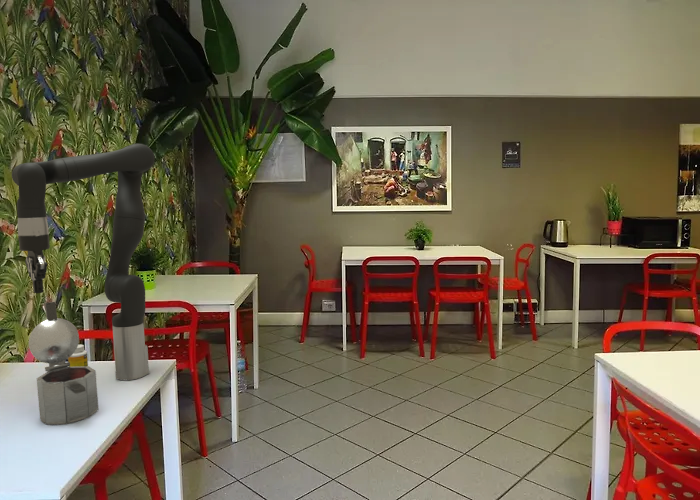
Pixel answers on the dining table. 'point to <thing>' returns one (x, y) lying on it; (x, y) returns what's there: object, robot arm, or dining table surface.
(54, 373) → the pot
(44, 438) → the dining table surface
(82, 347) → the supplement bottle
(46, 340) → the lid
